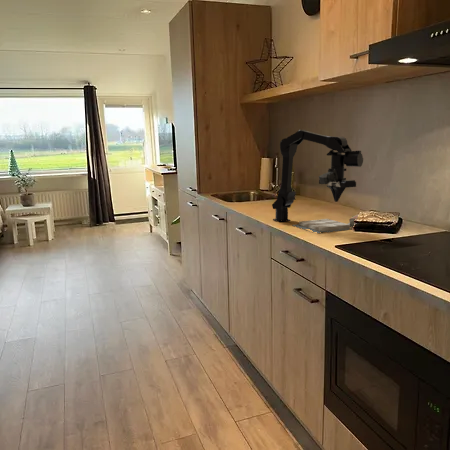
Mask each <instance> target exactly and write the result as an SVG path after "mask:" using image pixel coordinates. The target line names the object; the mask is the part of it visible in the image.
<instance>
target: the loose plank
mask: <svg viewBox="0 0 450 450" xmlns="http://www.w3.org/2000/svg"><path fill="white" fill-rule="evenodd" d="M319 220H320V219H313V220H301V221H299V222H298V224H299V225H302V226H305V227H308V228H311V229H314V230H317V231H328V230H338V229H339V226H337V225H334V224H330V223H326V222H323V221H319Z"/></svg>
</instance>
